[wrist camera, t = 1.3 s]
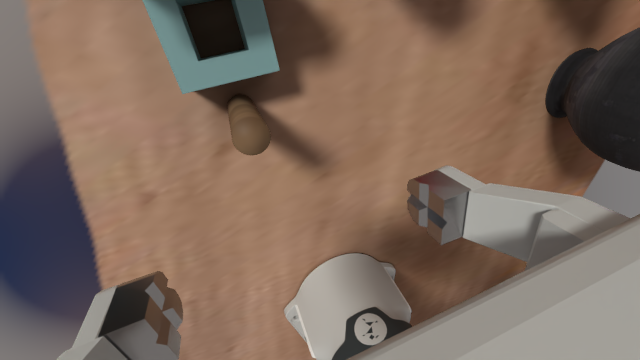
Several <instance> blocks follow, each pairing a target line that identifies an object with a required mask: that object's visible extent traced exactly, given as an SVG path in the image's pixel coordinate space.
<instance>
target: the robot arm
mask: <svg viewBox="0 0 640 360" xmlns="http://www.w3.org/2000/svg"><path fill="white" fill-rule="evenodd" d="M407 191H408V192H409V193H410V194H411V195H410V197H409V199H408V201H407V203H408V210H409V213H410V216H411V217H412V219H413V220H414V221H415V222H416V223H417V224H418V225H420V226H424V227H427V233H428V234H429V235H430V236H431V237H432V238H434V239H435V240H436V241H437V242H438V243H439V244H440V245H443V244H445V243H448V242H450V241H453V240H455V239H458V238H460V237H463V238H465V239H468V240H470V241H473V242H476V243H478V244H481V245H484V246H486V247H489V248H492V249H494V250H497V251H500V252H502V253H505V254H507V255H510V256H513V257H515V258H518V259H521V260H523V261H526V262H527V265H526V268H525V271H524V272H522V273H520V274H518V275H516V276H514V277H512V278H510V279H508V280H506V281H504V282H502V283H500V284H498V285H496V286H494V287H492V288H490V289H488V290H485V291H483V292H481V293H479V294H477V295H475V296H473V297H471V298H469V299H467V300H465V301H463V302H461V303H459V304H457V305H455V306H453V307H451V308H449V309H447V310H445V311H443V312H441V313H439V314H437V315H435V316H433V317H431V318H429V319H427V320H425V321H423V322H421V323H419V324H417V325H415V326H413V327H412V326H411V325H410V324H409V323H410V319H411V312H412V310H411V308H410V306H409V304H408V303H407V301H406V299H405V298H404V296H403V295H402V293H401V292H400V290H399V288H398V287H397V285H396V284H395V282H394V278H395V272H396V270H395V268H394V267H393V265H392V264H390V263H382V262H378V261H376V260H375V259H374V258H372V257H370V256H368V255H365V254H359V253H352V254H345V255H341V256H338V257H335V258H332V259H330V260H328V261H326V262H324V263H323V264H321V265H320V266H318V267H317V268H316V269H315V270H313V271H312V272H311V273H310V274H309V275H308V277H307V278H306V279H305V280H304V282H303V283H302V285H301V287H300V289H299V291H298V293H297V295H296V297H295V298H294V299H293V300H292V301H291V302H290V303H289V304H288V305H287V306H286V308H285V309H284V313H285V316H286V318H287V319H288V321H289V322H290V323H291V324H292V325H293V327H294V328H295V329H296V330H297V331H298V333H299V334H300V335H301V336H302V338H303V339H304V340H305V341H306V342H307V344H308V347H309V350H310V353H311V355H312V357H313V358H316V359H317V360H640V214H639V215H637V216H635V217H633V218H628V217H626V216H624V215H622V214H619V213H617V212H614V211H612V210H610V209H608V208H605V207H603V206H601V205H598V204H596V203H594V202H592V201H589V200H587V199H585V198H582V197H580V196H573V195H567V194H560V193H553V192H546V191H539V190H532V189H526V188H519V187H512V186H505V185H498V184H492V183H489V184H487V185H486V184H484V183H482V182H480V181H478V180H476V179H474V178H473V177H471V176H469V175H467V174H465V173H463V172H461V171H459V170H458V169H456V168H454V167H452V166H447V165H446V166H443V167H441V168H438V169H436V170H434V171H432V172H429V173H426V174H424V175H421V176H418V177H416V178H413V179H410V180H409V181H408V184H407ZM167 282H168V279H167V278H166V276H165V275H164V274H163V272H160V271H157V272H154V273H151V274H148V275H145V276H142V277H139V278H136V279H133V280H131V281H128V282H125V283H122V284H120V285H116V286H114V287H111V288H108V289H105V290H102V291H100V292H99V293H98V294H96V295H95V297H94V300H93V302H92V304H91V307H90V309H89V311H88V313H87V315H86V318H85V320H84V322H83V324H82V326H81V329H80V331H79V333H78V335H77V338H76V340H75V342H74V344H73V347H72V349H69V350H67V351H64V352H63V353H62V355H61V356H60V357H58V359H57V360H178V359H179V351H180V341H181V335H180V334H179V332H178V331H177V329H178V327H179V326H180V324H181V323H182V320H183V309H182V302H181V300H180V297H179V295H178V294H177V292H176V291H175V290H174V289H171V288H168V287H167Z"/></svg>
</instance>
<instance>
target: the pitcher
mask: <svg viewBox="0 0 640 360" xmlns="http://www.w3.org/2000/svg"><path fill="white" fill-rule="evenodd" d="M546 107H547V110H548V112H549V113H550V114H551V115H552V116H554V117H556V118H561V117H566V116H567V117H568V120H569V122H570V124H571V126H572V128H573V130H574V132H575V133H576V135H577V136H578V138H579V139H580V140H581V142H582V143H583V144H584V145H585V146H586V147H588V148H589V149H590V150H591V151H592V152H594V153H595V154H597V155H598V156H600V157H601V158H603V159H606V160H608V161H610V162H612V163H615V164H617V165H620V166H622V167H625V168H628V169H632V170H636V171H640V28H637V29H635V30H633V31H631V32H629V33H627V34H625V35H623V36H621V37H620V38H618V39H616V40H615V41H613V42H611V43H610V44H608V45H607V46H605V47H604V48H602V49H601V50H599V51H598V50H596V49H593V48H586V49H582V50H579V51H577V52H575V53H573V54H572V55H570V56H569V57H568V58H567V59H565V60H564V61H563V62H562V64H561V65H560V66H559V67H558V69H557V70H556V72H555V73H554V75H553V77H552V79H551V81H550V84H549V87H548V90H547V94H546Z"/></svg>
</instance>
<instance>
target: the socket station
mask: <svg viewBox="0 0 640 360" xmlns="http://www.w3.org/2000/svg"><path fill="white" fill-rule="evenodd" d="M208 1H214V0H143V2H144V5H145V7H146V9H147V12H148V14H149V16H150V19H151V21H152V23H153V26H154V28H155V30H156V33H157V35H158V38H159V40H160V42H161V45H162V47H163V49H164V52H165V54H166V56H167V59H168V61H169V63H170V66H171V68H172V70H173V73H174V75H175V77H176V80H177V82H178V84H179V87H180V89H181V91H182V94H185V93H189V92H193V91H197V90H201V89H205V88H210V87H214V86H218V85H222V84H226V83H230V82H234V81H239V80H243V79H247V78H251V77H255V76H259V75H263V74H267V73H272V72H276V71H280V69H279V65H278V61H277V57H276V53H275V49H274V44H273V40H272V36H271V32H270V28H269V24H268V19H267V15H266V11H265V7H264V3H263V0H231V2H232V6H233V9H234V13H235V16H236V19H237V23H238V26H239V30H240V33H241V37H242V40H243V44H244V47H245V49H242V50H238V51H233V52H228V53H224V54H219V55H215V56H210V57H206V58H200V55H199V52H198V50H197V47H196V44H195V41H194V39H193V36H192V33H191V31H190V28H189V25H188V22H187V20H186V17H185V14H184V12H183V9H182V6H186V5H192V4H197V3H203V2H208Z"/></svg>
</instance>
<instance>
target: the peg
mask: <svg viewBox="0 0 640 360" xmlns="http://www.w3.org/2000/svg"><path fill="white" fill-rule="evenodd" d="M227 109H228V115H229V122H230V129H231V135H232V141H233V144H234V146H235V147H236V149H237V150H238V151H240V152H241V153H243V154H246V155H257V154H260V153H262V152H263V151H264V150H266V148H267V147H268V146H269V143H270V140H271V135H270V131H269V129H268V127H267V125H266V124H265V122H264V120H263V118H262V117H261V115H260V113H259V112H258V110H257V108H256V106H255V105H254V103H253V101H252V100H251V99H250V98H249V97H248V96H246V95H243V94H238V95H234V96H233V97H231V98H230V100H229V101H228V105H227Z"/></svg>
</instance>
